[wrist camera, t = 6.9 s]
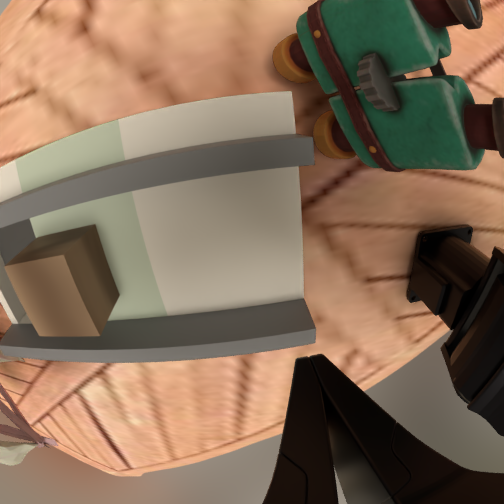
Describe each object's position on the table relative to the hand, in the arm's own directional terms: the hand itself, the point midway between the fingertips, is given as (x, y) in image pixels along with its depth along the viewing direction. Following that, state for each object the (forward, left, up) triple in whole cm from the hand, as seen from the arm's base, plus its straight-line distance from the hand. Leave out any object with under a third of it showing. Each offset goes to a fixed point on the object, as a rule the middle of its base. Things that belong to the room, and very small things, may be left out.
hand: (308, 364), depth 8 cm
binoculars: (-12, -11, -7) cm, 18 cm away
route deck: (+11, 0, -11) cm, 15 cm away
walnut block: (+12, 0, -9) cm, 15 cm away
